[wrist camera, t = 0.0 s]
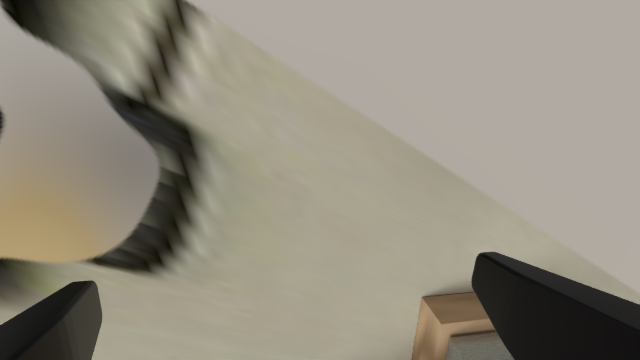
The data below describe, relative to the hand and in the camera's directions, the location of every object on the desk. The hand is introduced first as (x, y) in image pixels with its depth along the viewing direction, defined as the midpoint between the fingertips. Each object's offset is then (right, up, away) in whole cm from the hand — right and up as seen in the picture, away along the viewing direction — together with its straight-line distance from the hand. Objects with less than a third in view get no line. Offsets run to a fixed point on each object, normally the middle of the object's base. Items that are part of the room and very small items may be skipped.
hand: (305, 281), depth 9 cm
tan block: (+11, -11, +22) cm, 27 cm away
